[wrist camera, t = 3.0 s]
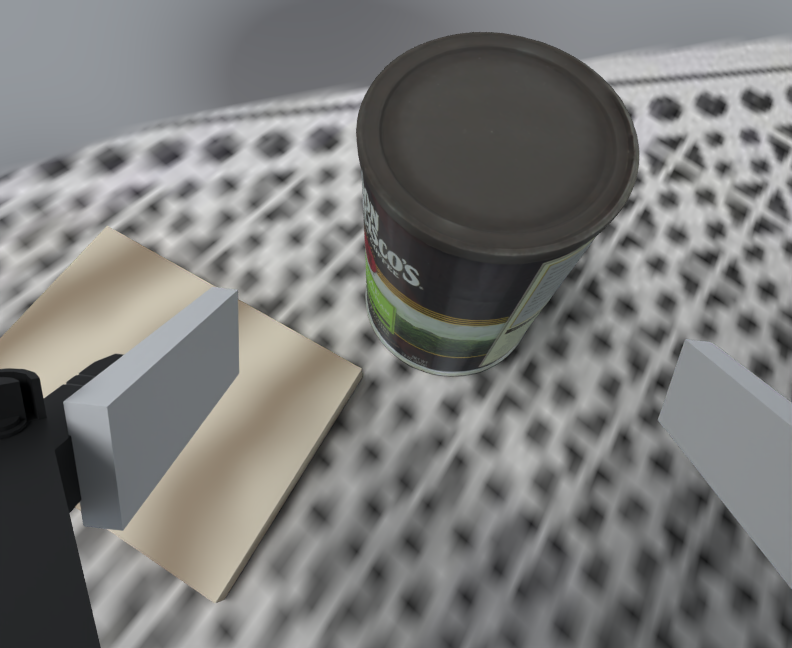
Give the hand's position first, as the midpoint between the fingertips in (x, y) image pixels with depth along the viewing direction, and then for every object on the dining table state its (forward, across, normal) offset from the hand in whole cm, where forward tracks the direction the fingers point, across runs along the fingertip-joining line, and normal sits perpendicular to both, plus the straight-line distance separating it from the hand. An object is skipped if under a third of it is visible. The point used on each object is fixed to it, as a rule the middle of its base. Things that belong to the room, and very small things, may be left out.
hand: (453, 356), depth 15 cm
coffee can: (+16, +1, -4) cm, 17 cm away
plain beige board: (+11, -14, -9) cm, 20 cm away
